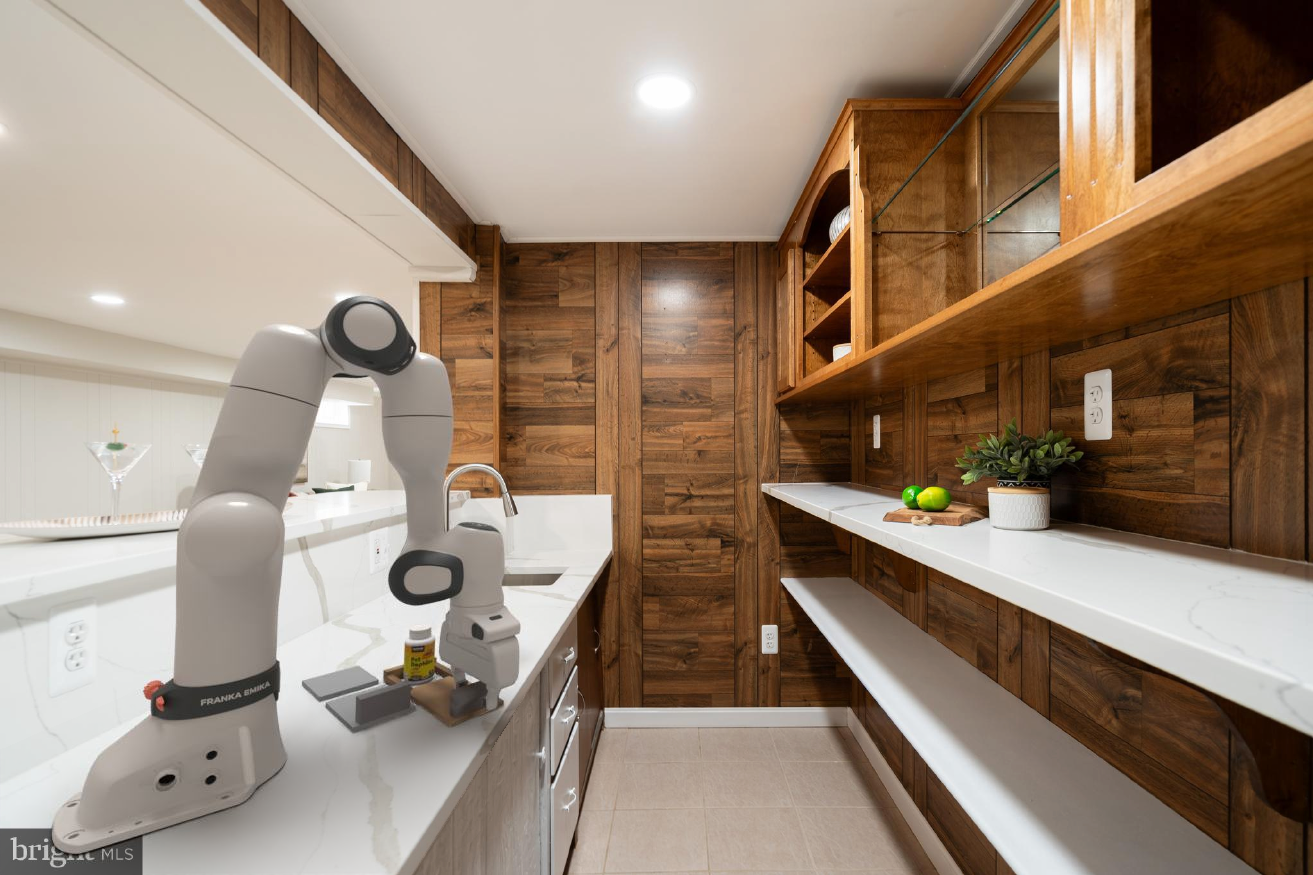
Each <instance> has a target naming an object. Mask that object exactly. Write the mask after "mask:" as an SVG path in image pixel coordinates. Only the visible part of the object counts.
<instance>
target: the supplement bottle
mask: <svg viewBox="0 0 1313 875" xmlns="http://www.w3.org/2000/svg"><path fill="white" fill-rule="evenodd" d="M408 634H409V635H408V636H407V638H405V640H404V649H403V650H404V652H403V653H404V654H403V655H404V656H403V664H404V676H403V678H402V679H403V681H407V682H409V683H410V684H411V685H419V684H420V685H422V684H426V683H428V682H430V681H431V680H432V679H433V678H434V677H435V676H434V675H435V671H434V661H435V657H436V654H435V653H436V637H435V635H434V634H432V625H431V624H425V623H424V624H416V625H413V626H411V627H410V628H409V633H408Z"/></svg>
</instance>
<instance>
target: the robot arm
mask: <svg viewBox="0 0 1313 875" xmlns="http://www.w3.org/2000/svg"><path fill="white" fill-rule="evenodd" d="M417 348H418V347H417V342H415V340H414V337H412V335H411V334H410V331H409V330H408V328H407V326H406V325H405V322H404V321H403V319H402V317H401V315H400V314H399V313H398V312H397V311H396V309H395V308H394V307H393V306H392V305H390V304H389V303H388V302H386V301H384V300H382V299H380V298H377V297H374V296H370V295H356V296H355V295H354V296H351V297H348V298H345V299H343V300H341V301H339V302H338V303H336V304H335V305H334V306H332V308H331V309H330V311H329V313H328V314H327V316H326V318H325V319H324V320H323V322H321V323H320V325H319V326H317V327H314V328H303V327H300V326H298V325H294V324H286V323H274V324H268V325H265V326H262V327H261V328H260V329H259V330H258V331H257V332H256V333H255V334H254V335H253V337H252V338H251V340H250V341H249V344H248V345H247V346H246V348H245V350H244V352H243V353H242V355H241V357H240V360H239V361H238V363H237V366H236V368H235V370H234V372H233V375H232V377H231V380H230V383H229V384H228V385H229V386H228V388H227V391H226V393H225V396H224V401H223V402H222V406H221V408H220V411H219V414H218V417H217V421H216V423H215V426H214V429H213V432H212V435H211V438H210V440H209V445H208V448H207V451H206V454H205V457H204V460H203V463H202V465H201V468H200V472H199V475H198V477H197V481H196V485H195V488H194V491H193V492H192V496H191V499H190V501H189V505H188V508H187V510H186V513H185V516H184V519H183V520H182V521H181V524H180V525H179V527H178V528H179V529H178V532H177V537H176V572H175V573H176V575H175V576H176V579H175V637H174V638H175V639H174V658H173V659H174V660H173V677H172V678H171V679H169V680H168V681H166V682H165V683H164V682H162V681H161V680H158V679H157V680H153V681H152V680H151V681H150V682H148V683H147V684H146V686H144V687H143V689H142V690H143V692H142V693H143V695H144V697H145V699H146V700H149V701H150V714H149V715H148V716H146V717H145V718H144V719H143V720H141V721H140V722H139V723H138V724H136V725H135V726H134V727H132V728H131V729H130V730H129V731H127V732H126V733H125V734H124V735H122V736H120V738H118V739H117V740H115V741H114V742H113V743H112V744H110V745H109V746H108V747H106V748H105V749H104V750H103V751H102V752H100V754H98V755H97V757H96V758H95V760H94V762H93V763H92V764H91V767H90V768H89V771H88V773H87V775H86V779H85V781H84V785H83V788H82V791H80V792H77V793H75V794H74V795H73V796H71V797H70V798H68V800H67V801H65V802H64V803H63V804H62V805H61V807H59V809H58V810H57V812H56V814H55V816H54V818H53V819H54V820H53V822H52V823H53V824H52V829H51V837H52V838H51V839H52V842H53V845H54V846H55V847H56V848H57V849H58V850H59V851H62V852H64V853H68V854H74V855H75V854H82V853H86V852H89V851H93V850H96V849H99V848H102V847H107V846H109V845H113V844H115V843H118V842H119V843H120V842H122V841H125V840H128V839H132V838H134V837H138V836H141V835H144V834H148V833H150V832H154V831H158V830H161V829H163V828H167V827H170V826H173V825H177V824H179V823H183V822H186V821H190V820H193V819H197V818H199V817H203V816H205V815H209V814H212V813H214V812H218V811H221V810H224V809H228V808H231V807H234V806H239V805H240V804H242V803H244V802H246V801H247V800H248V799H249V798H250V797H251V796H252V795H253V794H254V792H255V791H256V790H257V788H258V787H259V786H261V785H262V784H263V783H265V782H266V781H268V780H269V779H270V778H272V777H273V776H274V775H275V774H277V773H278V772H279V771H280V770H281V769H282V768H283V766H284V765H285V763H286V761H287V757H288V754H287V752H286V750H285V746H284V743H283V740H282V735H281V730H280V724H279V715H278V704H277V702H278V701H279V697H280V695H279V694H280V692H281V674H282V673H281V667H280V666H281V665H280V661H281V660H278V658H277V654H278V653H277V650H278V649H277V648H278V626H279V621H278V620H279V603H280V595H281V594H280V593H281V587H282V586H281V585H282V575H283V574H282V573H283V566H284V565H283V563H284V551H285V540H286V539H285V534H286V526H285V521H284V518H283V513H284V509H285V507H286V505H287V504H286V503H288V502H287V501H288V498H289V497H290V496H289V495H290V493H291V490H292V488H293V485H294V483H295V481H296V477H297V475H298V472H299V470H300V467H301V466H302V463H303V461H304V459H305V455H306V451H307V448H308V445H309V442H310V439H311V435H312V432H313V429H314V426H315V423H316V419H317V416H318V413H319V408H320V406H321V403H322V398H323V395H324V392H325V390H326V387H327V385H328V383H329V382H330V380H331V379H332V378H338V379H340V378H341V379H342V378H343V379H363V378H368V377H369V378H371V380H372V381H373V382H374V383H375V385H376V387H377V388H378V389H379V394H380V399H381V431H382V432H381V433H382V438H383V444H384V449H385V454H386V457H387V460H388V462H390V464H391V466H392V467H393V469H394V470H396V472H397V474H398V475H399V477H400V479H401V481H402V483H403V487H404V492H405V504H406V505H405V506H406V527H407V528H406V530H407V533H406V534H407V535H406V539H405V543H404V545H403V547H402V549H401V552H400V553H399V555H398V556H397V557H396V559H395V560H394V562H393V564H392V565H391V567H390V568H389V571H388V578H387V582H388V587H389V590H390V592H391V593H392V596H393V597H394V598H395V599H396V600H398V601H399V602H400V603H402V604H405V605H409V606H413V607H415V606H416V607H417V606H418V607H419V606H424V605H429V604H434V603H438V602H442V601H447V600H448V599H449V609H448V611H447V612H446V613H445V618H444V619H445V620H444V621H443V622H442V624H441V628H440V634H439V643H438V644H439V645H438V654H439V658H440V660H441V661H442V662H444V663H445V664H448V665H450V669H451V672H452V675H453V678H454V681H455V686H454V689H457V688H460V687H463V686H466V685H468V681H469V680H468V679H467V678H466V675H469V676H471V677H472V678H474V679H475V680H478V681H481V682H483V683H485V684H486V689H487V690H488V693H487V696H486V697H484V698H483V707H484V708H486V709H487V710H490V711H493V710H496V709H497V708H496V707H497V697H498V695H499V696H500V694H501V691H502V690H503V689H505V688H509V687H512V686H513V685H515V684H516V682H517V681H518V679H519V673H520V643H519V639H518V638H517V636H516V635H519V634H520V633H521V623H520V620H519V619H517V618H516V617H515V616H514V615H513V613H511V612H510V610H509V609H508V607H507V606H506V605H504V604H505V595H504V592H503V581H504V580H503V579H504V576H505V558H506V557H505V544H504V537H503V536H502V533H501V532H500V531H499V529H497V528H496V527H494V526H492V525H491V524H486V523H481V522H474V521H471V522H469V521H466V522H465V521H464V522H459V523H458V524H457V525H455V526H454V527H453V528H451V529H449V530H448V531H446V527H445V526H446V524H445V507H444V505H445V504H444V483H445V477H446V472H447V469H448V465H449V462H450V458H451V454H452V448H453V439H454V429H455V428H454V427H455V426H454V422H455V420H454V404H453V396H452V390H451V385H450V379H449V374H448V370H447V369H446V366H445V364H444V362H443V361H442V360H441V359H439V358H438V357H436V356H435V355H432V354H430V353H426V352H421V351H417ZM492 709H493V710H492Z"/></svg>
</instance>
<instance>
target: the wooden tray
mask: <svg viewBox="0 0 1313 875" xmlns="http://www.w3.org/2000/svg"><path fill="white" fill-rule="evenodd" d="M437 658H438V657H436V656H435V661H434V673H437V674H438V675H440V676H442V678H439V679H435V680H433V681H429V682H425V683H422V684H420V685H418V686H414V687H413V686H411V700H410V701H412V702H413V703H415V705H416V704H417V705H418V706H419V707H421V709H424V710H426V711H427V712H428V713H429V714H431V715H432V716H434V717H435V718H437V719H438V720H440V721H441V722H443V723H444V724H445V725H447V726H448V727H452V726H455V725H457V724H459V723H462V722H464V721H467V720H470V719H472V718H474V717H477V716H480V715H482V714H485V713H487V712H490V711H493V710H494V709H492V710H487V709H486V708H484V707H483V698H484V697H486V696H487V693H488V690H487V689H486V684H485V683H483V682H481V681H479V680H478V681H474V682H471V681H469V680H468V685H466V686H463V687H460V688H457V689H454V686H455V681H454V678H453V675H452V672H451V668H449V667H447V666H445V665H444V664H442V663H440V662H438V661H437ZM382 674H383V677H382V680H383V682H385V684H386V685H388V686H390V685H394V684H397V683H400V682H403V681H404V680H402V679H403V676H404V663H403V664H401V665H397V666H393V667H390V668H387V669H386V668H385V669H383V673H382ZM504 705H505V700H504V699H502V698H500V694H499V695H498V697H497V707H496V708H495V709H497V708H500V707H503V706H504Z"/></svg>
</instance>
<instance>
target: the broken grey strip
mask: <svg viewBox="0 0 1313 875" xmlns="http://www.w3.org/2000/svg"><path fill="white" fill-rule="evenodd" d="M402 681H403V682H400V683H397V684H394V685H388V684H387V683H385V684H381V685H379V684H380V680H379V678H377V677H375V676H374V675H373V674H371V673H370V672H368V671H367V670H365V669H364V668H362V666H360V665H355V666H352V667H347V668H344V669H340V670H337V671H333V672H330V673H325V674H323V675H322V674H321V675H318V676H314V677H311V678H307V679H303V680H301V685H302V687H304V688H305V690H306V691H308V692H309V693H310V695H312V696H313V697H314V698H315V699H316V700H317V701H318V702H324V701H325V708H326V709H327V710H328V711H329V712H330V713H331V714H332V715H333V716H334V717H335V718H337V719H338V721H340V722H341V723H342V724H343V725H344V726H346V728H347V729H348V730H349V731H350V732H351V733H352V734H353V733H356V732H359V731H362V730H365V729H367V728H370V727H373V726H375V725H378V724H382V723H385V722H387V721H390V720H392V719H396V718H398V717H401V716H404V715H407V714H410V713H413V712H416V711H417V705H416V704H414V702H413V701H412V700H411V687H412V684H410V683H409V682H407V681H404V680H402ZM376 685H378V686H376ZM373 686H376V687H373ZM371 687H372V688H371ZM366 688H368V689H366ZM362 689H363V690H362ZM357 691H359V692H357ZM353 692H355V693H353ZM349 693H352V694H349ZM347 694H348V695H347ZM343 695H344V696H343ZM340 696H343V697H340ZM337 697H338V698H337ZM333 698H335V699H333ZM330 699H331V700H330ZM327 700H329V701H327ZM411 701H412V702H411Z"/></svg>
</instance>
